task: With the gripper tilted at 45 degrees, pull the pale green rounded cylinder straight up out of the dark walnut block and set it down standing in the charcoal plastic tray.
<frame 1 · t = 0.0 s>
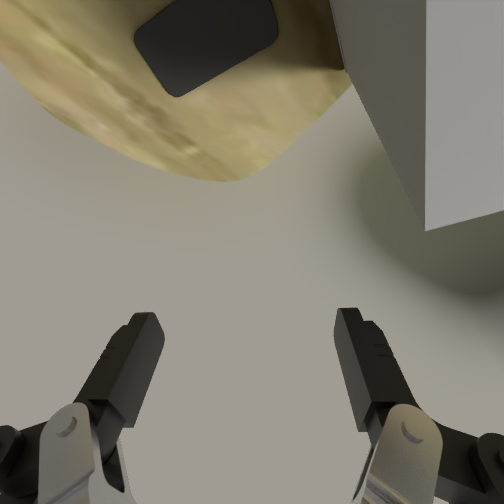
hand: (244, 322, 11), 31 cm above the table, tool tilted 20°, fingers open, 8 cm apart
phone: (206, 34, 27), on the table
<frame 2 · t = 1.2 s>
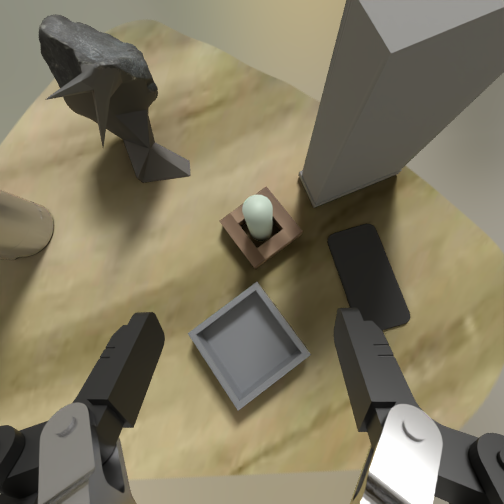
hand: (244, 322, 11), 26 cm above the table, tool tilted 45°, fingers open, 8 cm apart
tall grey upright box: (346, 175, 39), on the table
tray: (250, 338, 36), on the table
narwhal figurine: (147, 141, 42), on the table
pale green rounded cylinder: (261, 230, 38), resting in brown hollow square block
phone: (365, 277, 36), on the table
brown hollow square block: (261, 230, 38), on the table
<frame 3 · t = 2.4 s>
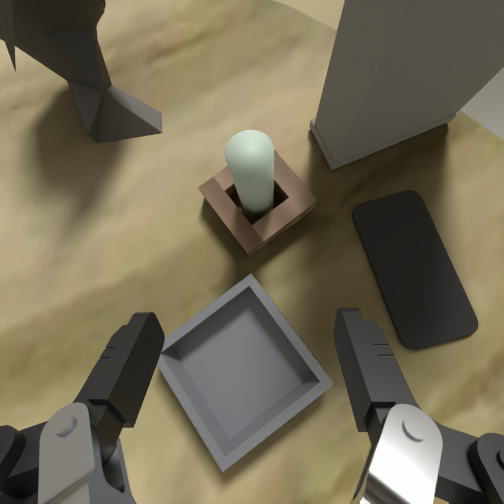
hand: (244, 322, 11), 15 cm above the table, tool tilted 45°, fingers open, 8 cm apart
tall grey upright box: (375, 126, 28), on the table
tray: (242, 356, 25), on the table
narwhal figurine: (106, 89, 32), on the table
pale green rounded cylinder: (257, 202, 27), resting in brown hollow square block
phone: (407, 266, 25), on the table
brown hollow square block: (257, 202, 27), on the table
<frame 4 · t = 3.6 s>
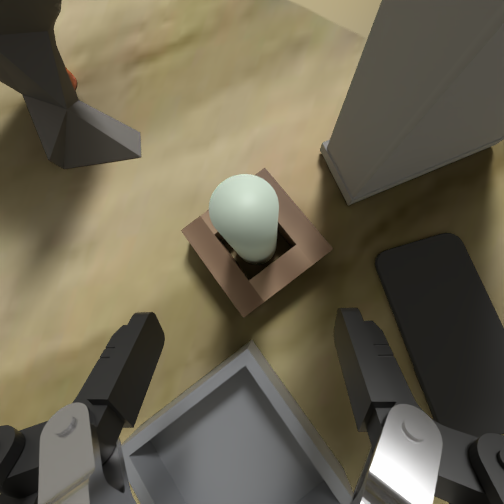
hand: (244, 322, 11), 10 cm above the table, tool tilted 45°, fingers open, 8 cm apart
tall grey upright box: (401, 149, 23), on the table
tray: (237, 445, 19), on the table
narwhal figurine: (75, 103, 26), on the table
pale green rounded cylinder: (256, 245, 22), resting in brown hollow square block
phone: (444, 329, 20), on the table
brown hollow square block: (256, 245, 22), on the table
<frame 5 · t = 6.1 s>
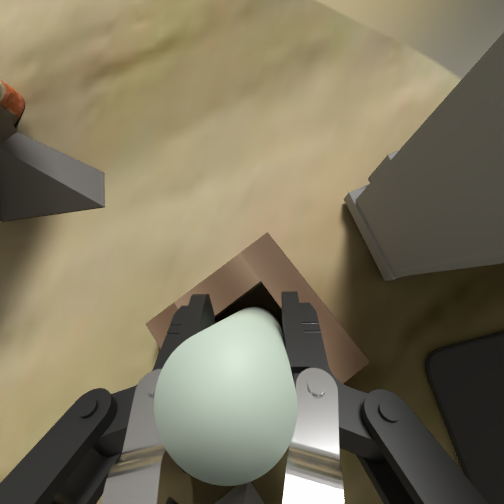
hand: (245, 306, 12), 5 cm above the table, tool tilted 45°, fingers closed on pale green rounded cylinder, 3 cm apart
tall grey upright box: (457, 199, 16), on the table
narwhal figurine: (22, 131, 20), on the table
pale green rounded cylinder: (254, 334, 16), resting in brown hollow square block, touching gripper
brown hollow square block: (255, 334, 16), on the table
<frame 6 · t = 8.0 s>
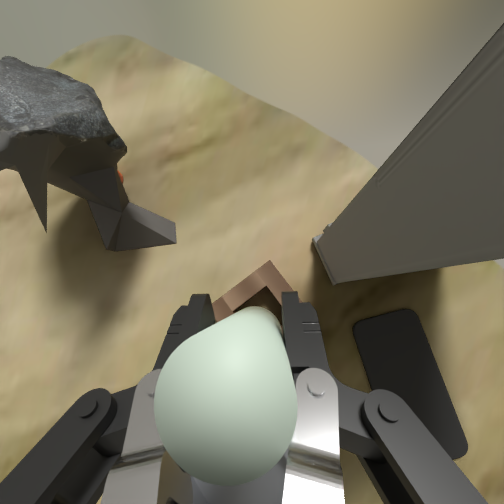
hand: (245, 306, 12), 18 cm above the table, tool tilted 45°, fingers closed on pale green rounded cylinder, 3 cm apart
tall grey upright box: (374, 239, 29), on the table
tray: (249, 468, 26), on the table
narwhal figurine: (122, 195, 33), on the table
pale green rounded cylinder: (254, 334, 16), point 13 cm above the table, touching gripper
phone: (403, 382, 27), on the table
brown hollow square block: (263, 314, 29), on the table
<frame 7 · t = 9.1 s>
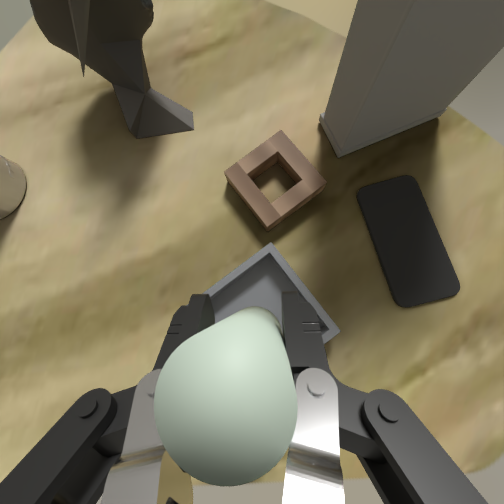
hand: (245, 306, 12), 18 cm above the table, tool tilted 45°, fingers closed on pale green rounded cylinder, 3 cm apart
tall grey upright box: (376, 119, 32), on the table
tray: (262, 315, 29), on the table
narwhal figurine: (142, 91, 36), on the table
pale green rounded cylinder: (254, 334, 16), point 14 cm above the table, touching gripper
phone: (402, 240, 30), on the table
brown hollow square block: (274, 185, 31), on the table
when the fingers open (7 cm above the table, at t = 11.4 s): pale green rounded cylinder drops 1 cm, resting on tray.
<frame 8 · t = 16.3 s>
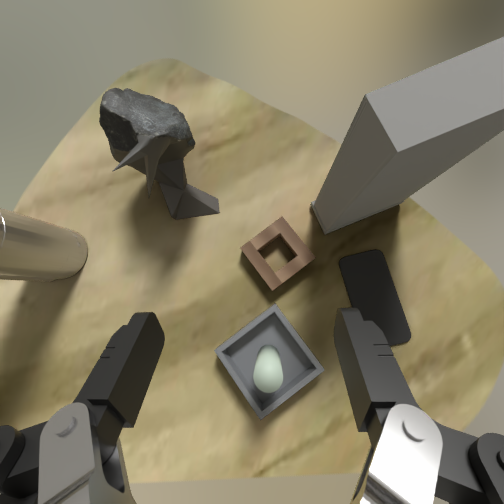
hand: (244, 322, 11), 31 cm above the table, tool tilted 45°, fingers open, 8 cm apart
tall grey upright box: (353, 204, 43), on the table
tray: (268, 354, 40), on the table
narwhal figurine: (178, 180, 46), on the table
pale green rounded cylinder: (268, 356, 39), point 1 cm above the table, touching tray
phone: (371, 297, 40), on the table
brown hollow square block: (277, 255, 42), on the table
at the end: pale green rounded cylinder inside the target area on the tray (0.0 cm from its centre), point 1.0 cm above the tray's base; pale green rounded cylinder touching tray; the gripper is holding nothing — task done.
